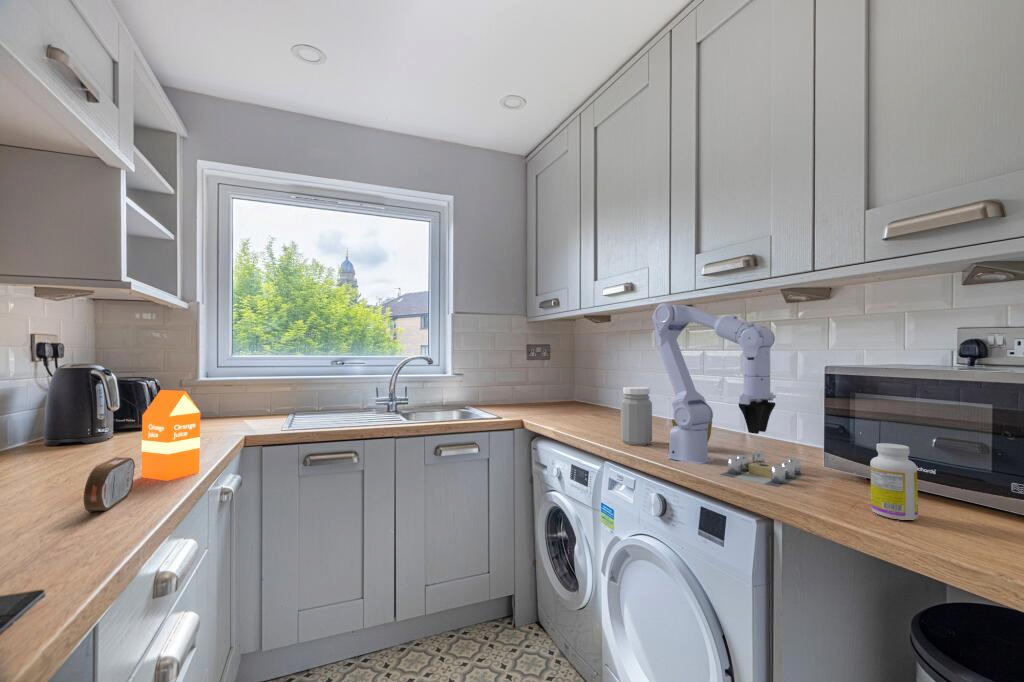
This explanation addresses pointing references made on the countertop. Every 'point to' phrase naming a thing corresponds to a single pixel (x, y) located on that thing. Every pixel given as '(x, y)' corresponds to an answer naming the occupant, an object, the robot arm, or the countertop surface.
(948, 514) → the countertop surface
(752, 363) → the robot arm
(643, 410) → the jar
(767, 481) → the mat
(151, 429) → the orange juice
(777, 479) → the spacers
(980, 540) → the countertop surface
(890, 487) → the supplement bottle
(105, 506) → the tin
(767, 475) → the tan square block
